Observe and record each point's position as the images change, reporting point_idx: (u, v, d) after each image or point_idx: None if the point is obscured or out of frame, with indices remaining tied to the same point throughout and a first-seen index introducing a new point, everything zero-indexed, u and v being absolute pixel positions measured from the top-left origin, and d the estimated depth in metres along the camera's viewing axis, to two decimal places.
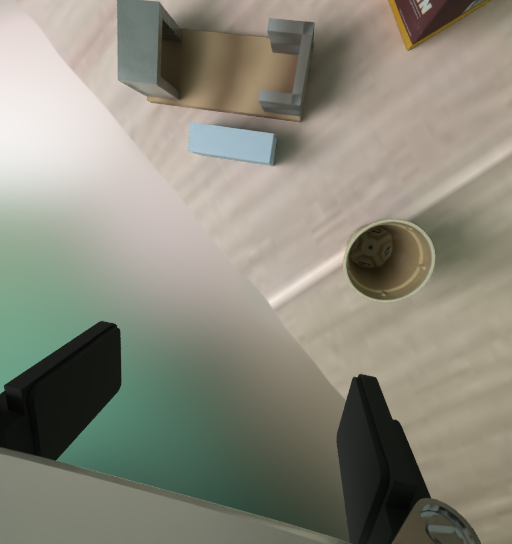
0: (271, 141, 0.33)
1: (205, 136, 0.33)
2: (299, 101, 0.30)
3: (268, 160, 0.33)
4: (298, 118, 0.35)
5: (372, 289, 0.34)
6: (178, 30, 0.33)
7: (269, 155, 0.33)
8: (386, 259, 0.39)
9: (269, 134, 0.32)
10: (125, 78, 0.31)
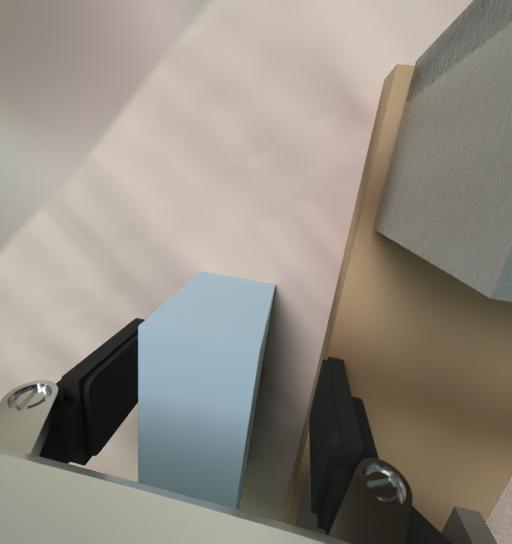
0: None
1: (204, 403, 0.08)
2: None
3: None
4: None
5: None
6: None
7: None
8: None
9: None
10: None
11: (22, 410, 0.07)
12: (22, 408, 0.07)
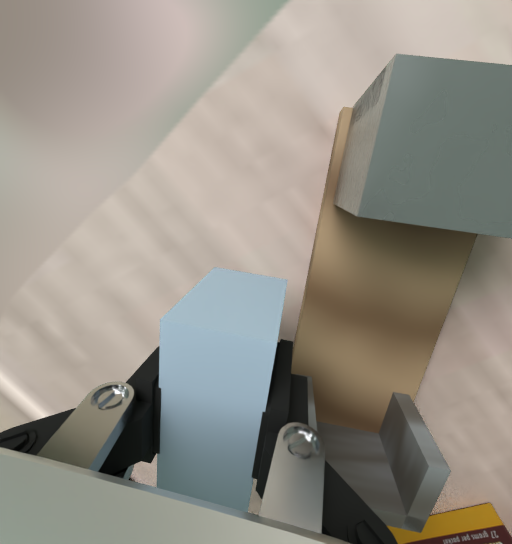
0: None
1: (222, 393, 0.08)
2: None
3: None
4: None
5: None
6: None
7: None
8: None
9: None
10: (395, 91, 0.08)
11: (100, 410, 0.07)
12: (101, 407, 0.08)
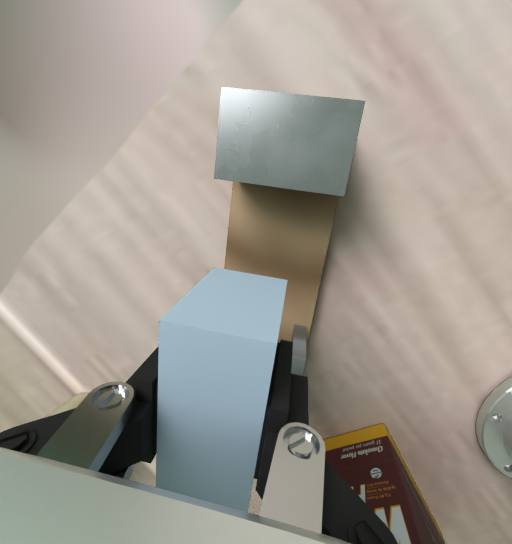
0: None
1: (222, 394, 0.08)
2: None
3: None
4: None
5: None
6: None
7: None
8: None
9: None
10: (224, 106, 0.15)
11: (100, 410, 0.07)
12: (101, 407, 0.08)
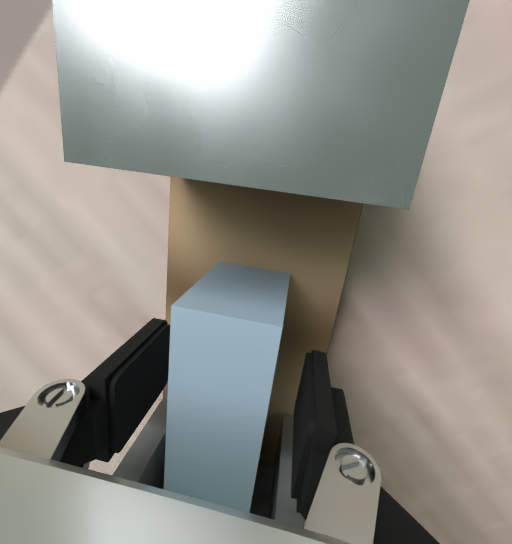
0: None
1: (230, 377, 0.08)
2: None
3: None
4: None
5: None
6: None
7: None
8: None
9: None
10: None
11: (50, 408, 0.07)
12: (51, 405, 0.07)
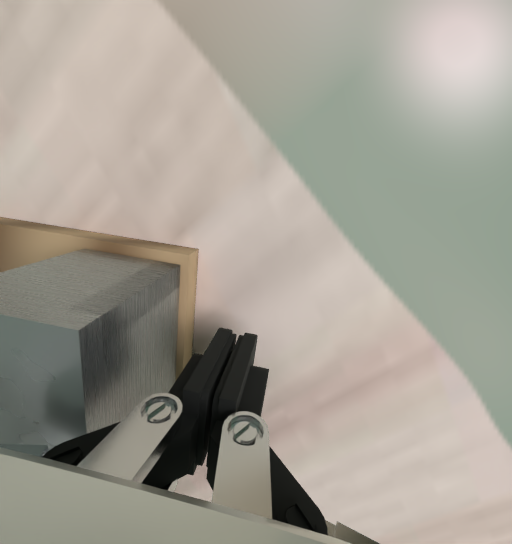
0: None
1: None
2: None
3: None
4: None
5: None
6: None
7: None
8: None
9: None
10: (44, 331, 0.07)
11: (148, 422, 0.07)
12: (150, 419, 0.07)
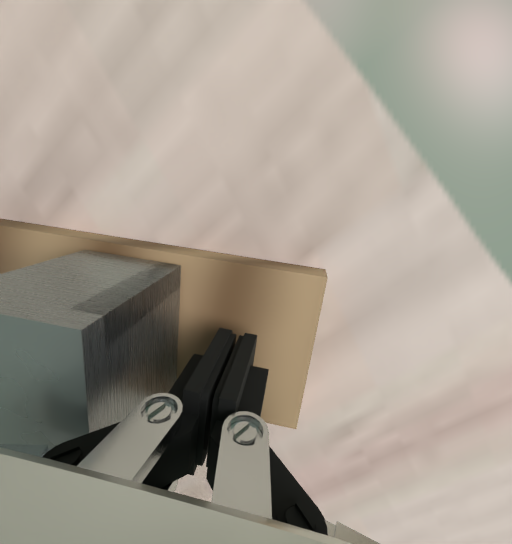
0: None
1: None
2: None
3: None
4: None
5: None
6: None
7: None
8: None
9: None
10: (47, 331, 0.07)
11: (148, 422, 0.07)
12: (150, 419, 0.07)
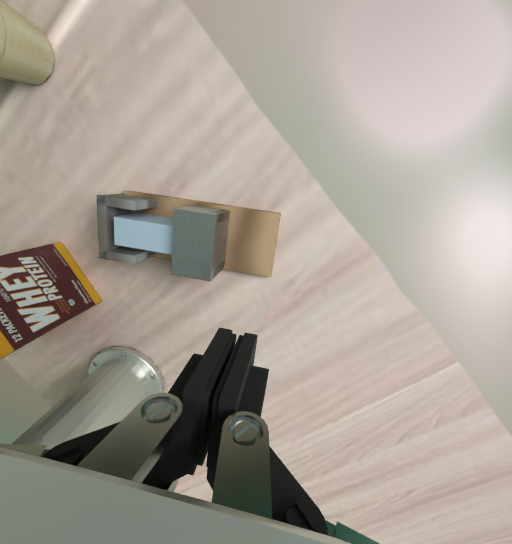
0: (115, 237, 0.32)
1: None
2: (98, 198, 0.31)
3: (114, 219, 0.32)
4: (125, 192, 0.36)
5: None
6: None
7: (115, 224, 0.32)
8: None
9: (118, 244, 0.32)
10: (207, 215, 0.29)
11: (148, 422, 0.07)
12: (150, 419, 0.07)
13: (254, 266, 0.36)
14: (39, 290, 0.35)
